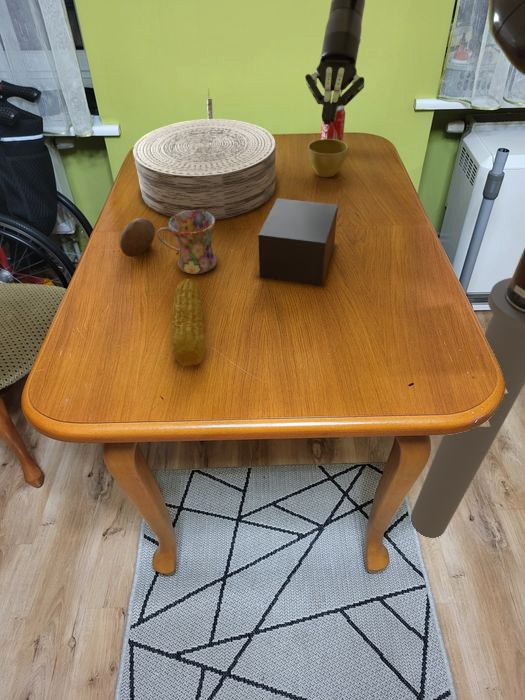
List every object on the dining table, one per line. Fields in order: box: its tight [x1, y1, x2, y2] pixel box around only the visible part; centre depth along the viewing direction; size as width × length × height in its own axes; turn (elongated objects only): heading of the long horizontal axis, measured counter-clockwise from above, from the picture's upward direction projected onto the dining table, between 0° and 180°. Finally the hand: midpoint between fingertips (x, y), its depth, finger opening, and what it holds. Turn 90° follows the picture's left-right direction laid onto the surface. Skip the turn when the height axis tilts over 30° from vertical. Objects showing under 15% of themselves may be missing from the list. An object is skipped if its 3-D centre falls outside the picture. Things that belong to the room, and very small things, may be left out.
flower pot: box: [307, 138, 349, 178], centre depth 126 cm, size 10×10×7 cm
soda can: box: [320, 105, 346, 142], centre depth 134 cm, size 6×6×12 cm
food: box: [170, 278, 207, 368], centre depth 83 cm, size 21×6×6 cm, turn 9°
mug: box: [157, 210, 218, 275], centre depth 96 cm, size 11×9×10 cm
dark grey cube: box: [257, 198, 339, 287], centre depth 96 cm, size 15×13×10 cm
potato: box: [119, 217, 156, 257], centre depth 101 cm, size 7×12×7 cm, turn 175°
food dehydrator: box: [132, 88, 276, 220], centre depth 119 cm, size 38×34×18 cm
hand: (327, 122), depth 101 cm, fingers closed
